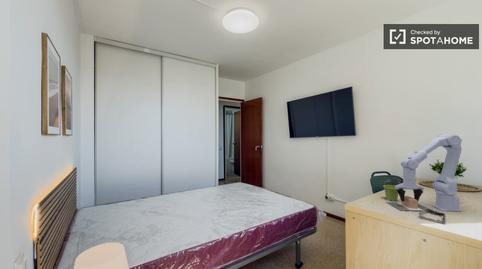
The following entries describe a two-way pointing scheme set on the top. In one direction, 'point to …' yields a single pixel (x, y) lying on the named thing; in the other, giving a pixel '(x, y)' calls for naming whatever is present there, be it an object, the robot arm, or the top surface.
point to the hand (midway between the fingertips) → (409, 201)
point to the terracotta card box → (410, 202)
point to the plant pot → (391, 192)
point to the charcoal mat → (405, 208)
